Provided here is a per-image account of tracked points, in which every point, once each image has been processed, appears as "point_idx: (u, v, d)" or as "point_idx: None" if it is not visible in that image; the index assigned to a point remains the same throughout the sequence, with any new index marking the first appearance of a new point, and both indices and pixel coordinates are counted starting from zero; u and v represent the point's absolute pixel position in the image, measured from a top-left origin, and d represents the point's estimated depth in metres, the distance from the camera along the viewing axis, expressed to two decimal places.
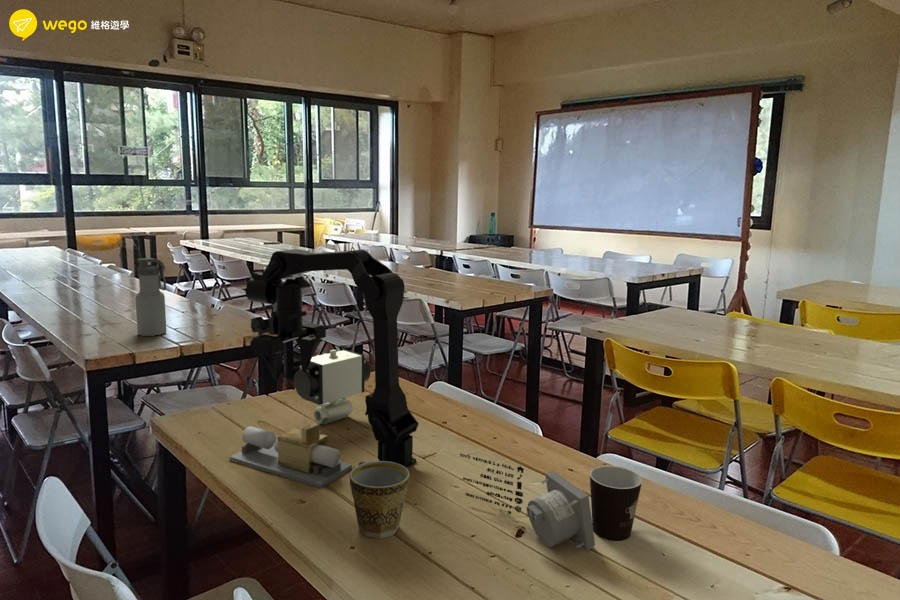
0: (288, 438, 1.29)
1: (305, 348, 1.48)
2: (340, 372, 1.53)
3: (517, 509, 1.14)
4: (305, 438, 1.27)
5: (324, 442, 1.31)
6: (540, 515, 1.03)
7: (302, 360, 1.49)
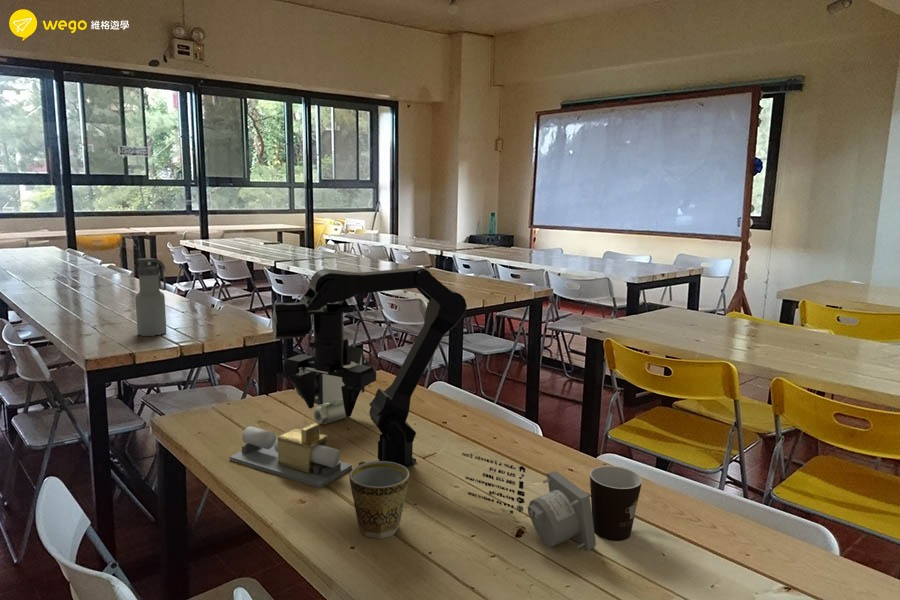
0: (288, 438, 1.29)
1: None
2: None
3: None
4: (305, 438, 1.27)
5: (324, 442, 1.31)
6: (541, 515, 1.03)
7: None
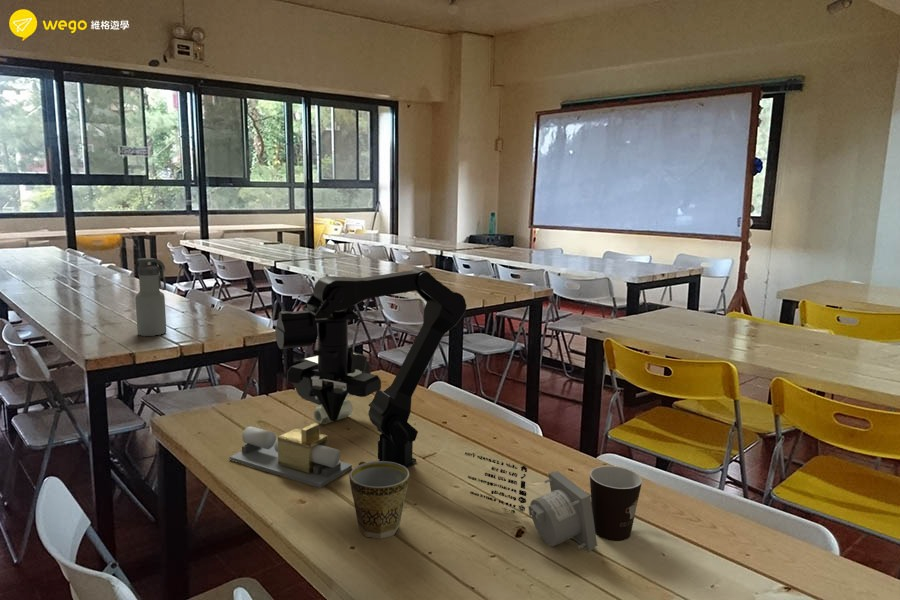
0: (288, 438, 1.29)
1: None
2: None
3: (521, 508, 1.14)
4: (305, 438, 1.27)
5: (324, 442, 1.31)
6: (541, 514, 1.04)
7: None
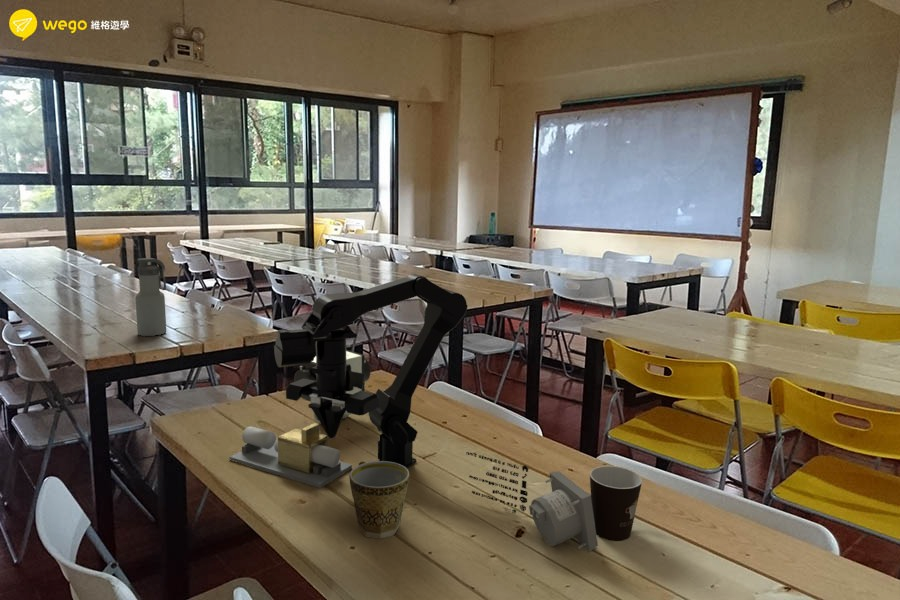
0: (288, 438, 1.29)
1: None
2: None
3: (522, 508, 1.15)
4: (305, 438, 1.27)
5: (324, 442, 1.31)
6: (542, 514, 1.04)
7: None
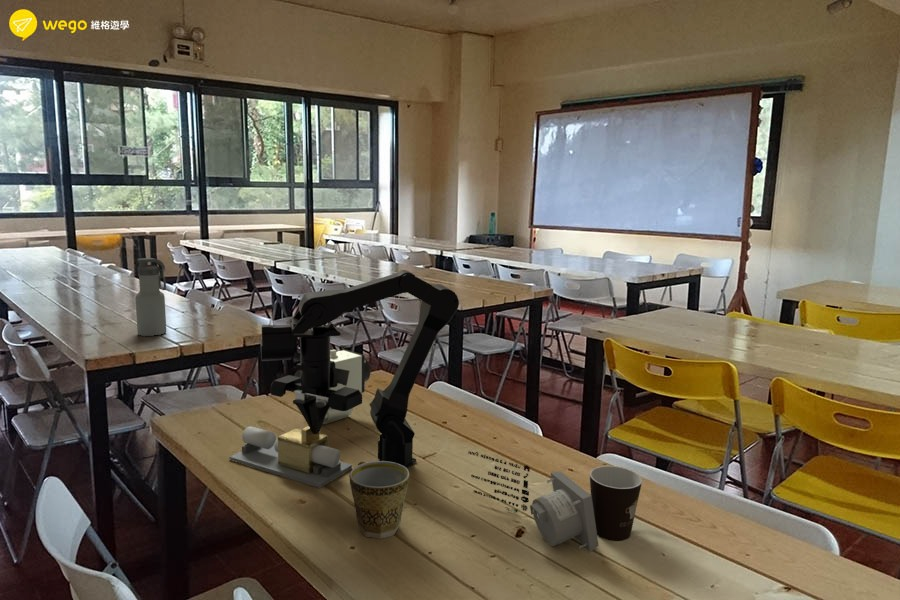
0: (288, 438, 1.29)
1: None
2: None
3: (523, 508, 1.15)
4: (305, 438, 1.27)
5: (324, 442, 1.31)
6: (543, 514, 1.04)
7: None
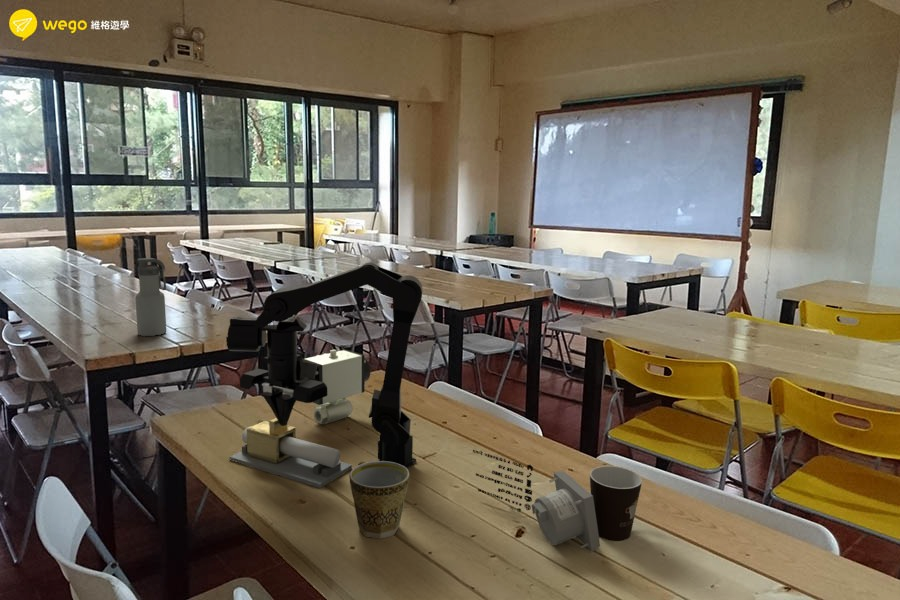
0: (257, 430, 1.33)
1: None
2: (340, 372, 1.53)
3: (526, 507, 1.15)
4: (272, 429, 1.31)
5: (292, 434, 1.35)
6: (544, 513, 1.04)
7: None
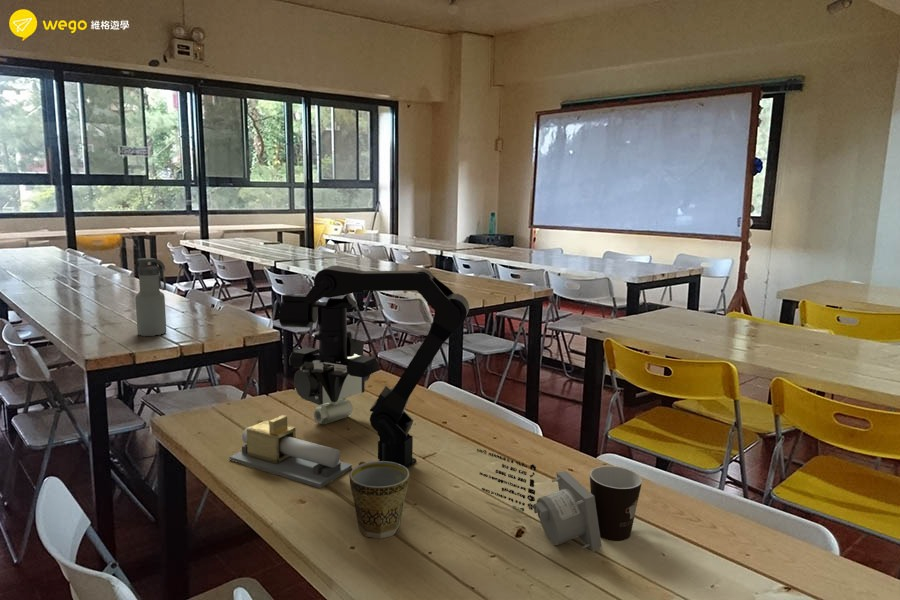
0: (257, 430, 1.33)
1: None
2: None
3: None
4: (272, 429, 1.31)
5: (292, 434, 1.35)
6: (545, 513, 1.04)
7: None
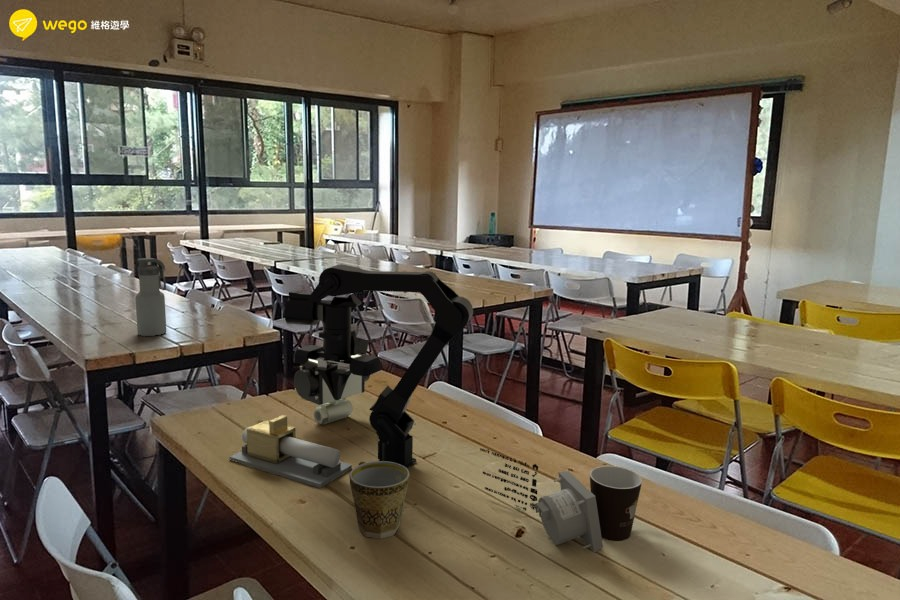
0: (257, 430, 1.33)
1: None
2: None
3: (532, 506, 1.15)
4: (272, 429, 1.31)
5: (292, 434, 1.35)
6: (546, 512, 1.04)
7: None
